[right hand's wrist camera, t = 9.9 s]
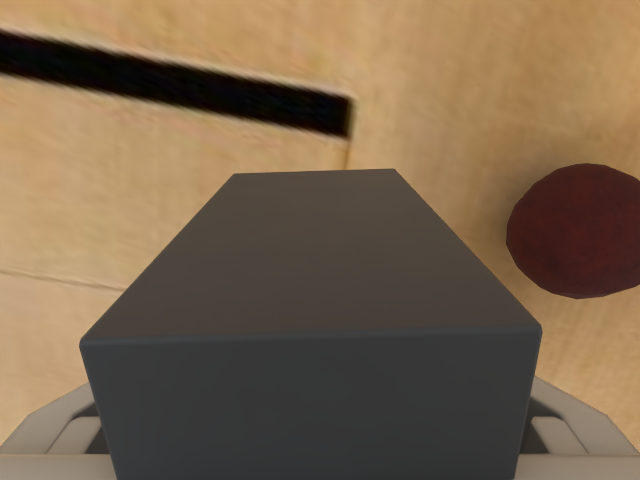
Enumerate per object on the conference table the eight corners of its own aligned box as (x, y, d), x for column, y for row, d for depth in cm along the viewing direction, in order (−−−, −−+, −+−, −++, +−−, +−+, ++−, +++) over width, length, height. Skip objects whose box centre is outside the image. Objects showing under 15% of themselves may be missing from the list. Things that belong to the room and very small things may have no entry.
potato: (617, 244, 27) (711, 297, 20) (499, 279, 28) (553, 339, 21) (606, 136, 24) (710, 156, 18) (478, 179, 25) (531, 212, 19)
